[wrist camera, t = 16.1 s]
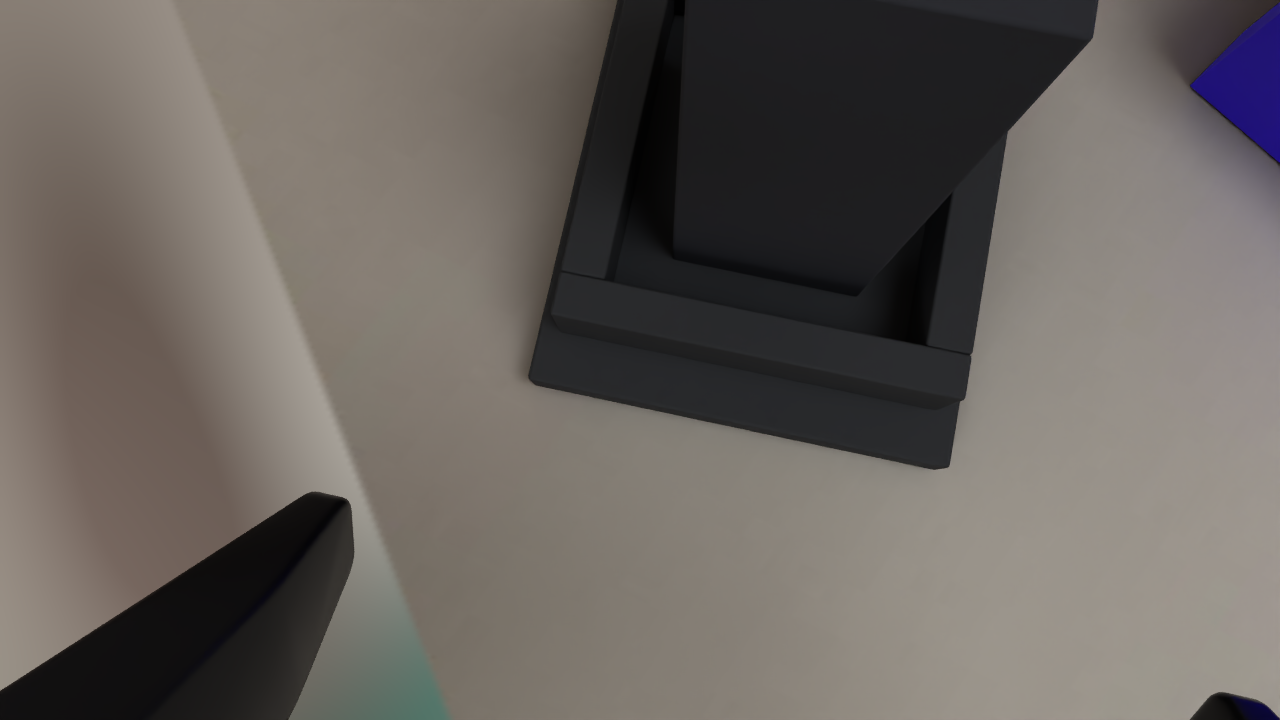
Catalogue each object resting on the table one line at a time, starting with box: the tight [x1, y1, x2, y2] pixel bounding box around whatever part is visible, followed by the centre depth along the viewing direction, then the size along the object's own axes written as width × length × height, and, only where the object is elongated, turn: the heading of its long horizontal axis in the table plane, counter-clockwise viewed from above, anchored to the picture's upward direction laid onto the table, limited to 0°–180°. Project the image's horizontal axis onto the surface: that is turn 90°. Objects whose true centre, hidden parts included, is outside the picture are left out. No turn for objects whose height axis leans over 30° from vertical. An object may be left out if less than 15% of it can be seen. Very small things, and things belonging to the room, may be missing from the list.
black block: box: [672, 0, 1098, 297], centre depth 16 cm, size 5×4×12 cm
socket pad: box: [528, 0, 1008, 470], centre depth 22 cm, size 12×10×3 cm
